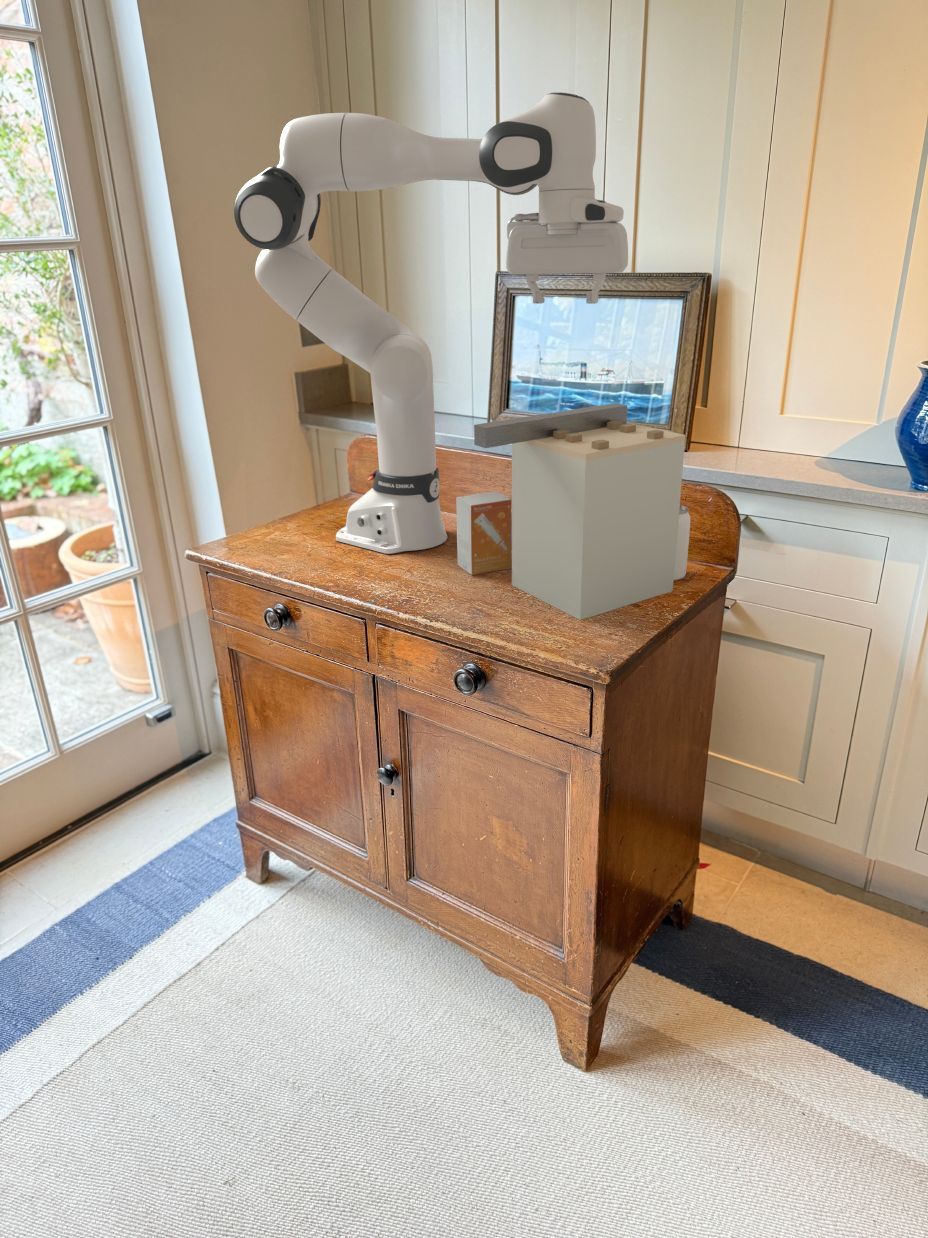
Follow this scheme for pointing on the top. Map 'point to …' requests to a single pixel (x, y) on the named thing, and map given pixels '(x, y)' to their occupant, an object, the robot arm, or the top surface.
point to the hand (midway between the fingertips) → (564, 303)
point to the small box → (484, 532)
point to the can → (682, 543)
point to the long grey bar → (547, 425)
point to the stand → (596, 516)
